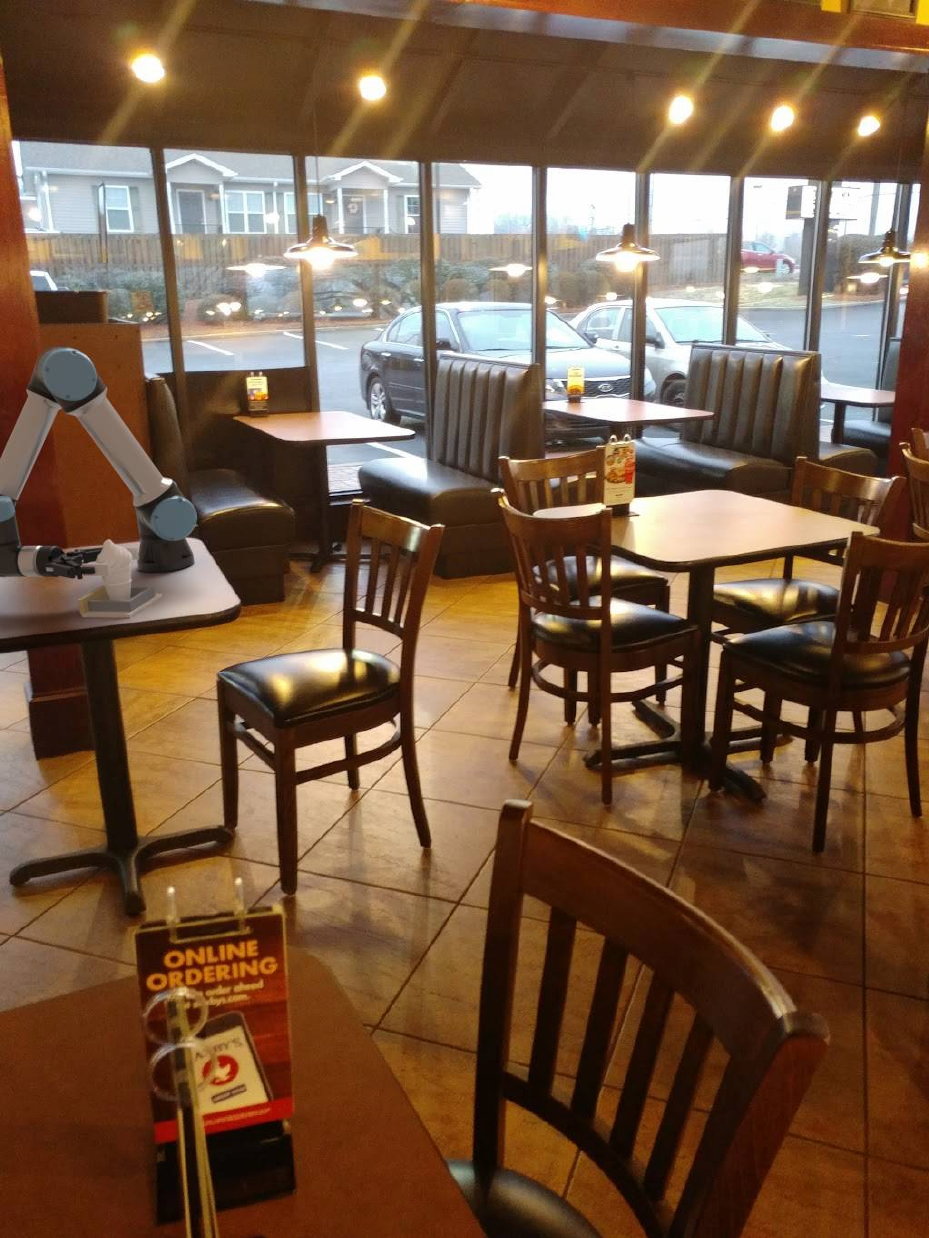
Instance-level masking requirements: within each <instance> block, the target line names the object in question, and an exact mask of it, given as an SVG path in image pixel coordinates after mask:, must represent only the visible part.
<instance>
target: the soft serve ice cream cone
mask: <svg viewBox="0 0 929 1238" xmlns="http://www.w3.org/2000/svg"><path fill="white" fill-rule="evenodd" d="M102 547H103V549H102V551H101V553H100V554H99V555H98V556H97V559H96V561H95V564H109V567H110V573H111V575H109V576H101V579H102V586H103V585H104V586H105V588H106V591H107V594H108V596H109V599H110V600H129V599H130V592H131V586H132V582H133V579H132V565H131V564H132V561H133V560H132V554H131V553H130V552H129V551H128V550H127V549H126V547H123V546H121V545H118V544H116V543H114V542H113V541H112V540H111V539H109V538H108V539H106V540H105V541H104V542H103V543H102Z"/></svg>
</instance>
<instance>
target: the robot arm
mask: <svg viewBox="0 0 929 1238" xmlns="http://www.w3.org/2000/svg"><path fill="white" fill-rule="evenodd" d="M96 369H97V368H95V365H94V363H93V362H92V360H91V359H90V358H89V357H88V355H86V354H85V353H84V352H82V351H80V350H78V349H75V348H72V347H66V346H52V347H49V348H47V349H45V350H44V351H43V352H42V353H41V354H40V355H39V357H37V359H36V363H35V364H34V367H33V371H32V374H31V376H30V380H29V383H28V385H27V387H26V390H25V391H26V393H27V398H26V401H25V403H24V405H23V407H22V410H21V412H20V414H19V416H18V418H17V420H16V423H15V425H14V427H13V430H12V432H11V434H10V436H9V439H8V441H7V442H6V444H5V447H4V449H3V452H2V454H1V457H0V578H27V577H28V578H29V577H30V578H31V577H33V579H35V580H37V579H38V578H43V577H44V578H57V577H64V578H67V579H70V580H71V579H72V580H74V579H76V578H77V580H83V579H84V577H83V576H90V577H92V576H93V577H95V576H96V577H98V576H99V577H100V576H101V577H102V576H109V575H111V573H110V567H109V564H97V563H94V562H96V559H97V556H98V555H99V554H100V553H101V551H102V549H103V546H101V547H100V546H99V547H92V548H85V549H84V548H80V549H79V548H78V549H77V548H76V549H74V550H73V551H67V552H65V551H63V549H62V548H61V547H60V546H57V545H22V543H21V538H20V534H19V527H18V524H17V523H18V522H17V518H16V517H17V516H16V509H15V507H16V505H17V502H18V500H19V498H20V495H21V493H22V491H23V489H24V486H25V484H26V483H27V481H28V479H29V476H30V474H31V471H32V470H33V467H34V465H35V462H36V461H37V458H38V456H39V454H40V452H41V449H42V447H43V445H44V444H45V443H44V442H45V440H46V439H47V437H48V435H49V432H50V429H51V428H52V425H53V423H54V421H55V419H56V417H57V414H58V412H59V410H63V412H64V413H65V415H70V416H74V417H76V419H77V420H78V421H79V422H80V424H81V425H82V427H83V428H84V429H85V431H86V432H87V433H88V435H89V436H90V437H91V439H92V440H93V442H94V443H95V444H96V446H97V447H98V448H99V450H100V451H101V452H102V454H103V455H104V457H105V458H106V459H107V461H108V462H109V463H110V465H111V467H112V468H113V469H114V471H116V473H117V474H118V476H119V477H120V479H121V480H122V481H123V483H124V484H125V485H126V487H127V489H129V491H130V492H131V493H132V500H133V501H132V505H133V506H134V509H135V515H136V516H135V517H136V521H137V526H138V527H137V528H138V533H139V548H136V547H127V548H126V547H125V548H126V549H127V550H128V551H129V552H130V553H131V554H132V560H131V561H135V560H136V563H137V569H138V571H141V572H142V573H143V572H144V573H164V572H165V573H167V572H172V571H178V570H177V569H179V570H182V569H185V568H184V567H186V568H188V567H191V566H192V565H193V564H195V555H194V552H193V551H192V548H191V546H190V545H189V542H188V540H187V538H186V537H188V536H189V535H190V534H192V532H193V531H194V529H195V527H196V524H197V520H198V516H197V515H198V514H197V509H196V508H195V507H194V504H193V503H192V502H191V501H190V500H189V499H187V498H186V497H185V496H184V495H183V493H182V492H181V490H180V489H179V488H178V485H177V483H176V482H175V481H174V480H173V479H172V478H168V477H164V476H163V475H162V474H161V472H160V471H159V470H158V468H157V467H156V464H154V463H153V461H152V460H151V458H150V457H149V456H148V454H147V453H146V451H145V450H144V448H143V447H142V446H141V444H140V443H139V441H138V440H137V438H136V437H135V435H134V434H133V433H132V432H131V430H130V429H129V427H128V426H127V425H126V423H125V422H124V420H123V419H122V418H121V416H120V414H119V413H118V412H117V410H116V409H115V408H114V406H113V405H112V403H111V402H110V401H109V399H108V398H107V393H108V387H107V386H106V385H105V383H104V381H103V380H102V379H101V377H100V376H99V375H98V373H97V370H96ZM187 566H188V567H187ZM181 568H182V569H181Z"/></svg>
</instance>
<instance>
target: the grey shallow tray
mask: <svg viewBox="0 0 929 1238" xmlns="http://www.w3.org/2000/svg"><path fill="white" fill-rule="evenodd" d="M162 597H163V594H162V593H156V590H155V586H154V585H153V586H145V585H144V586H140V585H138V586H137V585H136V586H134V585H133V586H132V585H131V592H130V599H129V600H110V599H109V596H108V594H107V591H106V588H105V586H104V585H103V584H102V585H101V586H99V587H98V588H96V589H94V590H92V591H90V592H89V593H87V594H85V595H84V596H81V597H80V598H78V599H77V604H78V610H79V615H81V618H105V619H106V618H107V619H109V618H112V619H114V618H116V619H117V618H119V619H120V618H122V619H126V618H127V619H130V618H132V617H134V616H135V615H136V614H139V613H140V612H142V611H143V610H145V609H146V608H147V607H149V606H150V605H152V604H154V603H155V602H157V601H158V600H159V599H161V598H162ZM133 615H134V616H133Z"/></svg>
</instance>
